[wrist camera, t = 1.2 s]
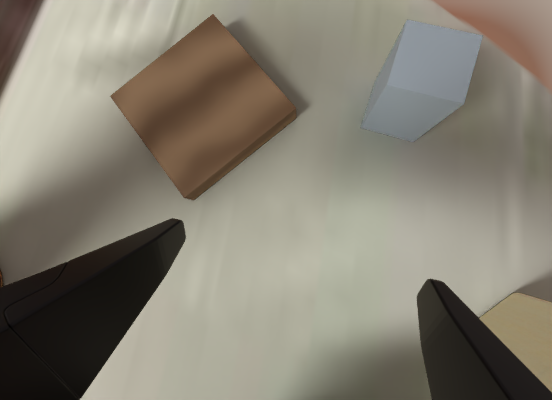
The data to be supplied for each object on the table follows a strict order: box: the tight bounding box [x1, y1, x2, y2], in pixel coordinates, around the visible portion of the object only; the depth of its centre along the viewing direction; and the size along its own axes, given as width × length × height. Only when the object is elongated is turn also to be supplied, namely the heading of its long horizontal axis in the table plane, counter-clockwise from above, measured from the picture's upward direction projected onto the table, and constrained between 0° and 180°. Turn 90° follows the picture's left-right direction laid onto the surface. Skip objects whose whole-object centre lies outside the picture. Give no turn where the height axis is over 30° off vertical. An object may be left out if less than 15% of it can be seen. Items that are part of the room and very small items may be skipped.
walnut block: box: [110, 14, 296, 200], centre depth 24 cm, size 13×13×2 cm
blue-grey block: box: [360, 20, 483, 142], centre depth 20 cm, size 5×5×7 cm
